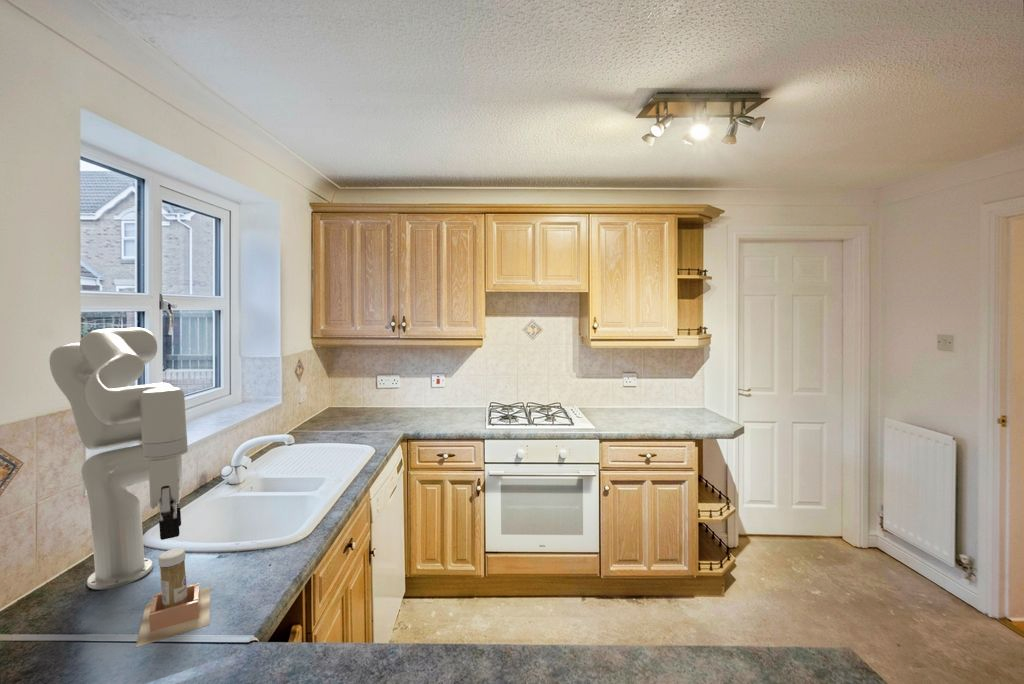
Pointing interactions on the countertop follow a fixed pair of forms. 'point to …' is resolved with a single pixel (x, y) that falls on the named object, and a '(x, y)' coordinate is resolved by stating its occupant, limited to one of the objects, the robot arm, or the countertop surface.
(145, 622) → the stand board
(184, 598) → the sprinkles bottle
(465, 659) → the countertop surface
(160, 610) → the collar
